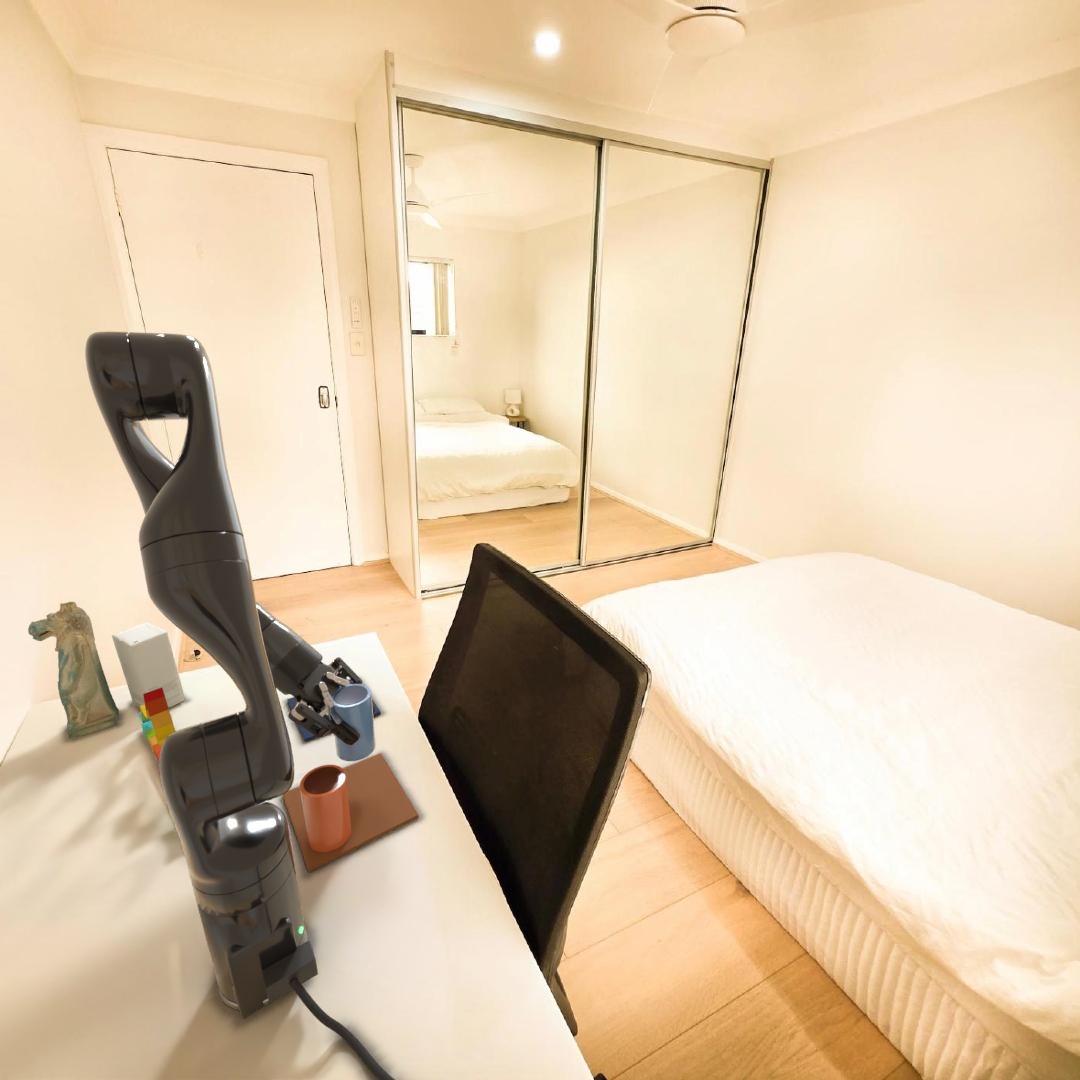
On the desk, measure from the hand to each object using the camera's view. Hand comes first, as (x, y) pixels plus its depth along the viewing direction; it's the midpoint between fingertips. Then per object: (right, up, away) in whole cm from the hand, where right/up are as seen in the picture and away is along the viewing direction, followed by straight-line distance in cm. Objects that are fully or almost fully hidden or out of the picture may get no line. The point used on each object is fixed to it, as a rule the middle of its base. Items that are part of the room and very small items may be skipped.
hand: (364, 726), depth 83 cm
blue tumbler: (-2, -4, +1) cm, 5 cm away
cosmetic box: (-48, -3, +22) cm, 53 cm away
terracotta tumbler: (-3, -14, -6) cm, 15 cm away
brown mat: (-2, -12, -1) cm, 12 cm away
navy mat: (-13, -4, +22) cm, 26 cm away
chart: (-33, -10, +5) cm, 34 cm away
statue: (-55, -5, +15) cm, 57 cm away
